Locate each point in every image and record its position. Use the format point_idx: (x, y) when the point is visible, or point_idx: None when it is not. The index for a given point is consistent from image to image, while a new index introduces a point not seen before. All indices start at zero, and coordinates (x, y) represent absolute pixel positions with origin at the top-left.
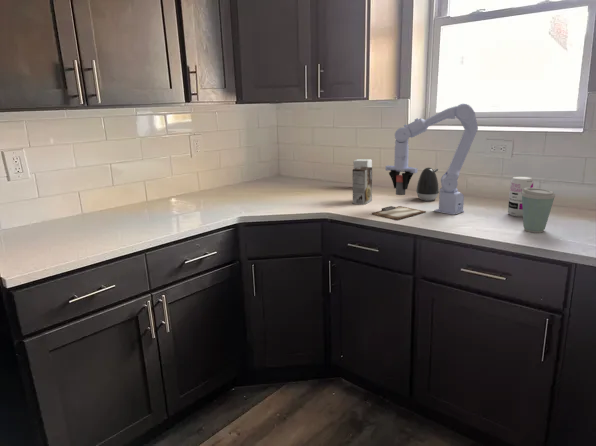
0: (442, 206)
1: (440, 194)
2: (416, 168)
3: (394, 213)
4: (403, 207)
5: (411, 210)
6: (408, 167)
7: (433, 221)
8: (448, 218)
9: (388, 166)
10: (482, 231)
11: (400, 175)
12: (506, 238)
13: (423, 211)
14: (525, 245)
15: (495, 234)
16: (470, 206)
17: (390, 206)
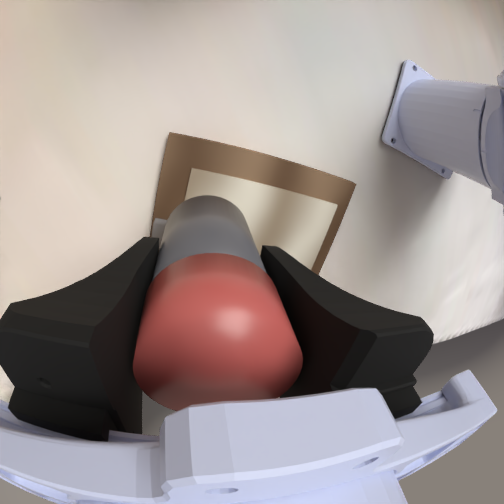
0: (432, 160)
1: (468, 166)
2: (481, 425)
3: None
4: (210, 158)
5: (288, 215)
6: (398, 470)
7: (393, 292)
8: (433, 231)
9: (10, 482)
10: (474, 297)
11: (202, 374)
12: (488, 309)
13: (346, 194)
14: (493, 320)
15: (484, 300)
16: (457, 12)
17: (157, 235)
